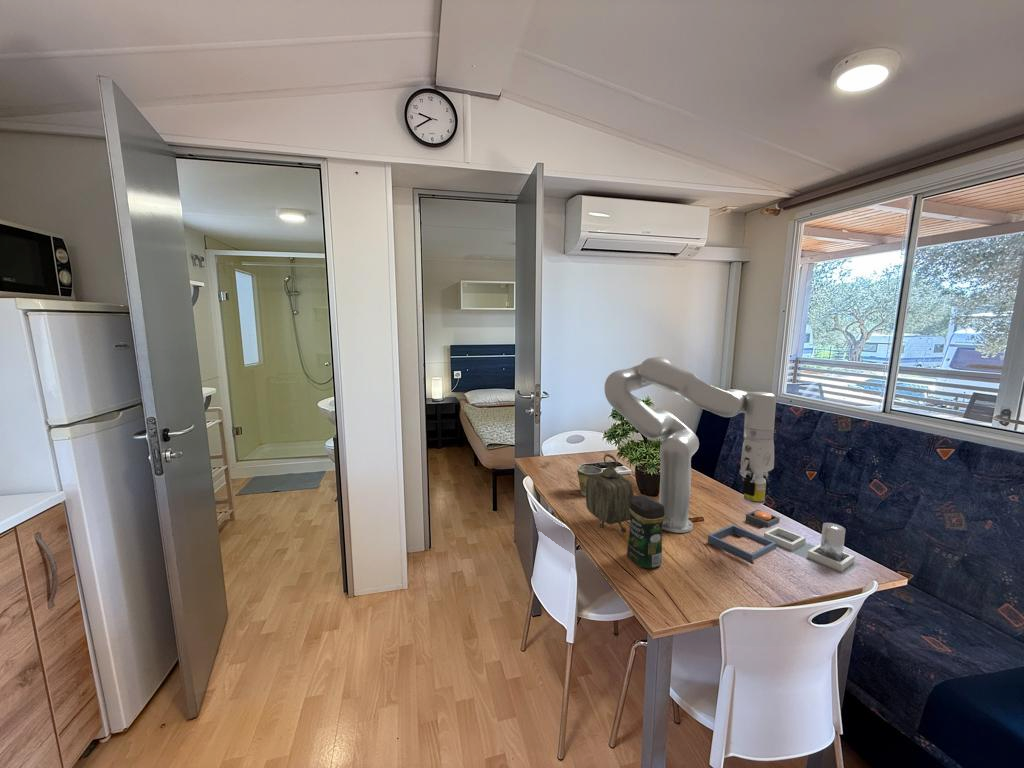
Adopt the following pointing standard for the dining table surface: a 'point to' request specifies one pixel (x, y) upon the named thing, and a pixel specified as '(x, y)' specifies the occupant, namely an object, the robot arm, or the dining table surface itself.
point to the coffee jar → (645, 531)
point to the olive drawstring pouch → (609, 496)
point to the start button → (762, 515)
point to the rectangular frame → (716, 541)
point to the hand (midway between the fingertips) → (754, 491)
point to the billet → (832, 541)
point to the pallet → (808, 550)
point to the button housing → (760, 522)
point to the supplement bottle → (757, 490)
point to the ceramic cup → (586, 476)
